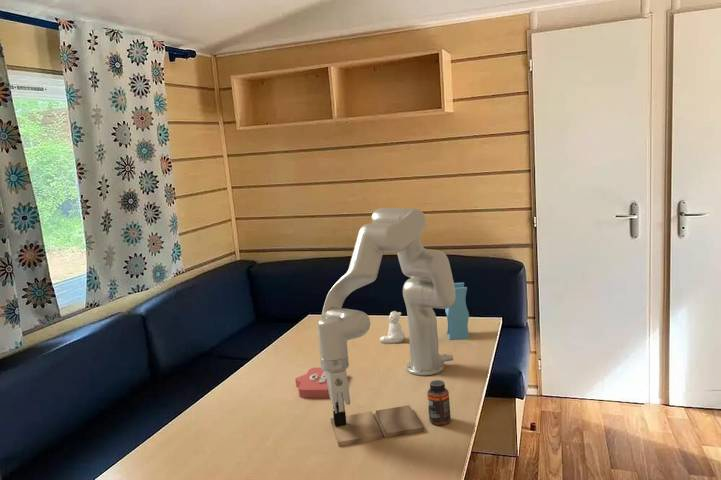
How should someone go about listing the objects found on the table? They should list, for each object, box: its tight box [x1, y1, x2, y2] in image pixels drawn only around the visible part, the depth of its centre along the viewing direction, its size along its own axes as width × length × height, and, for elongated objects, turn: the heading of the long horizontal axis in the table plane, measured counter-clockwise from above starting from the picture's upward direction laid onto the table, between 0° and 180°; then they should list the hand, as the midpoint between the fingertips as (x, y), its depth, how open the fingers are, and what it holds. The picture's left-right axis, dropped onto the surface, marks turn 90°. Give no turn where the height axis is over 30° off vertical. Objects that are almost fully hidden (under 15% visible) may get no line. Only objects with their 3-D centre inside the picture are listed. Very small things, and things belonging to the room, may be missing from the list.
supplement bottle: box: [426, 379, 451, 426], centre depth 167 cm, size 6×6×11 cm
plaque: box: [295, 366, 330, 399], centre depth 198 cm, size 18×4×15 cm
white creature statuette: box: [379, 310, 405, 344], centre depth 233 cm, size 10×9×12 cm
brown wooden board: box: [372, 404, 424, 439], centre depth 169 cm, size 11×14×1 cm
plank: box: [330, 411, 384, 447], centre depth 167 cm, size 12×14×1 cm
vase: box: [444, 282, 470, 341], centre depth 232 cm, size 8×8×20 cm
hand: (340, 424), depth 168 cm, fingers closed
